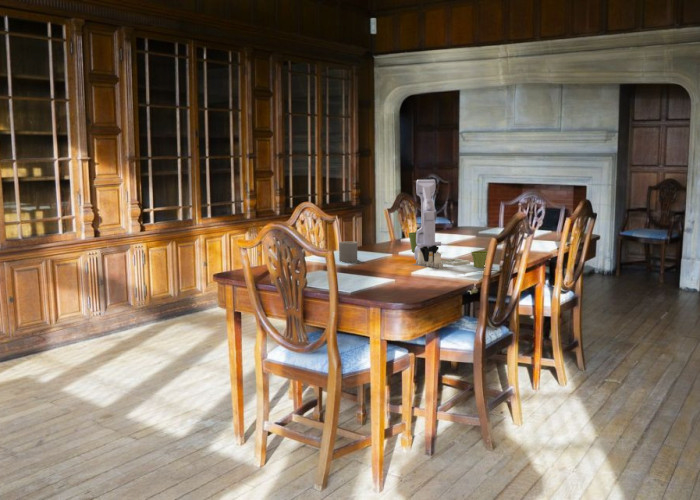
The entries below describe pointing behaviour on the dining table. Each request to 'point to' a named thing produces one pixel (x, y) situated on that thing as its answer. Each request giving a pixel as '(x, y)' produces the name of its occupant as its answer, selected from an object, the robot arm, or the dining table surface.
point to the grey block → (347, 251)
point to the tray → (459, 261)
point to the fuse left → (420, 257)
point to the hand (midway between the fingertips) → (429, 261)
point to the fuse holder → (430, 265)
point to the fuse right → (437, 260)
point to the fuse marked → (430, 259)
